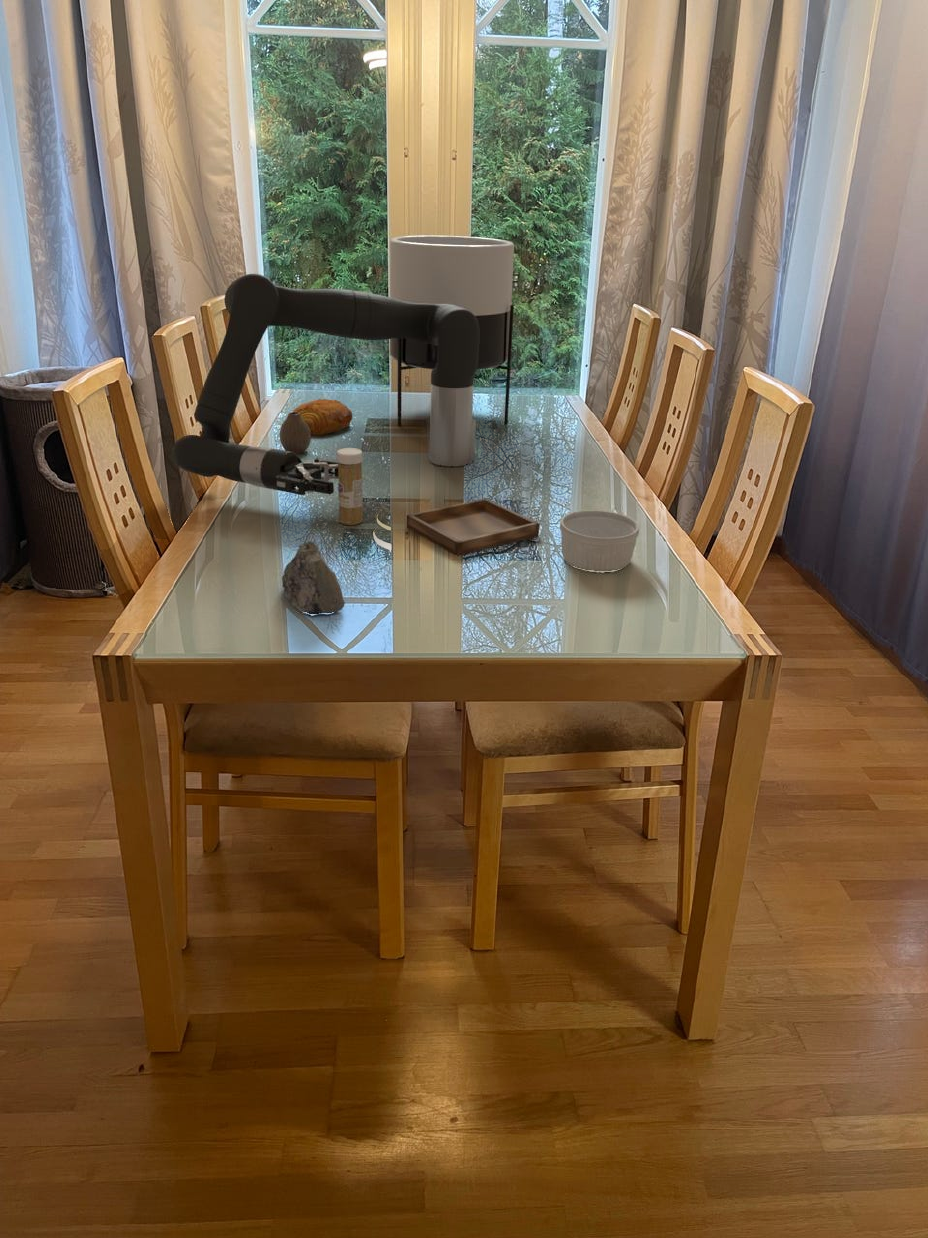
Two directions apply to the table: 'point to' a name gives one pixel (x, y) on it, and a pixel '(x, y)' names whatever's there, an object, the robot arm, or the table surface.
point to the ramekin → (598, 539)
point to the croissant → (325, 416)
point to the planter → (455, 294)
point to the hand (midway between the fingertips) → (345, 481)
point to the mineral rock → (312, 582)
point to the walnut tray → (472, 526)
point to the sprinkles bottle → (350, 485)
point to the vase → (295, 433)
